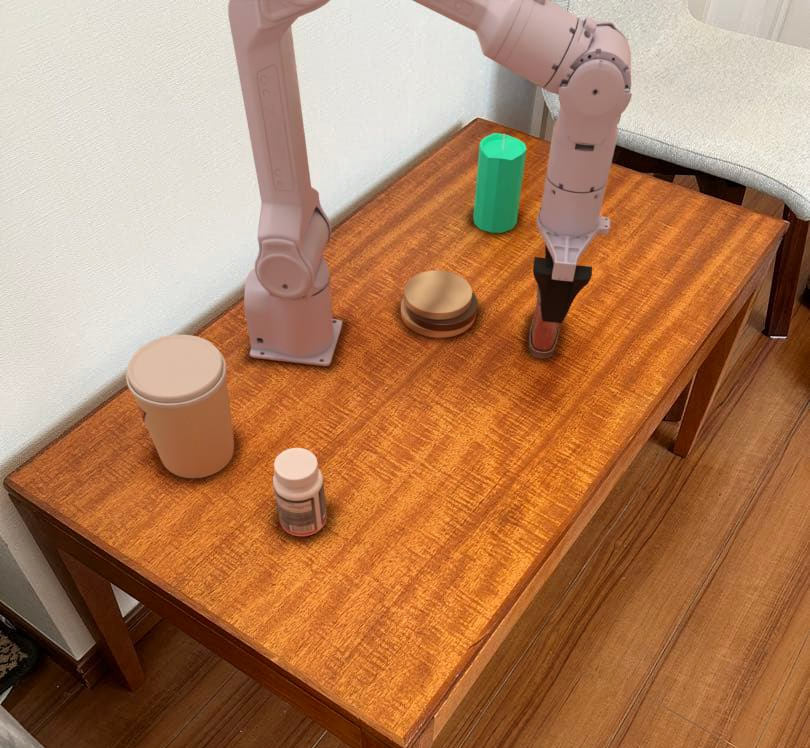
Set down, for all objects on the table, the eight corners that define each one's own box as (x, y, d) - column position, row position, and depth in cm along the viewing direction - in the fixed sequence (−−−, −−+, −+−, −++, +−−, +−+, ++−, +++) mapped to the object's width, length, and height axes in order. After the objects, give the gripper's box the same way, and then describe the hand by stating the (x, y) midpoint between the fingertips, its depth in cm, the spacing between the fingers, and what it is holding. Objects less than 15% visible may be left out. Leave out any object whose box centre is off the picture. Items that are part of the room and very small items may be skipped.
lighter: (554, 360, 99) (569, 288, 91) (525, 355, 99) (537, 284, 91) (560, 316, 103) (575, 245, 95) (533, 312, 104) (545, 241, 96)
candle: (466, 211, 117) (473, 125, 107) (507, 204, 118) (517, 118, 108) (482, 236, 113) (490, 149, 104) (523, 228, 114) (535, 142, 105)
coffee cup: (169, 414, 92) (144, 326, 83) (252, 425, 92) (236, 338, 82) (140, 478, 87) (108, 392, 77) (228, 490, 86) (207, 405, 77)
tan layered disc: (394, 333, 101) (395, 312, 99) (406, 286, 107) (407, 265, 104) (472, 342, 100) (474, 321, 98) (480, 294, 106) (482, 273, 103)
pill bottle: (302, 493, 86) (294, 435, 79) (336, 516, 84) (332, 460, 78) (269, 521, 84) (258, 464, 77) (303, 545, 82) (296, 490, 75)
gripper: (619, 225, 74) (590, 346, 85) (620, 140, 83) (593, 260, 94) (539, 216, 75) (520, 338, 86) (548, 133, 83) (530, 253, 94)
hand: (554, 297), depth 90 cm, fingers open, 7 cm apart
